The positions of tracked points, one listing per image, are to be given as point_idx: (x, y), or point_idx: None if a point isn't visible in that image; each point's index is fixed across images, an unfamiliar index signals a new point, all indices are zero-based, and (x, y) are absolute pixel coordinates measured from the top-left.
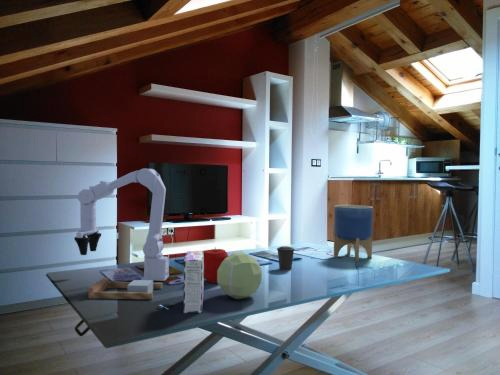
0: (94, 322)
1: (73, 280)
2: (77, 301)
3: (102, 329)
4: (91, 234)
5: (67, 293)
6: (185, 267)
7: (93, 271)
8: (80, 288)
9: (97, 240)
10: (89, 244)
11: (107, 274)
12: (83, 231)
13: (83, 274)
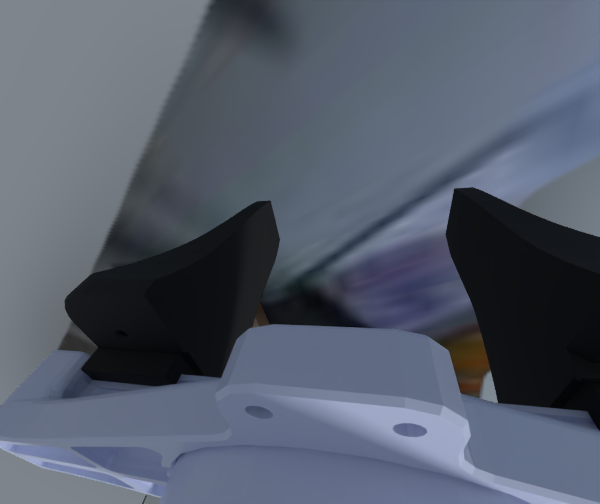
0: (72, 334)
1: (283, 90)
2: (108, 266)
3: (68, 349)
4: (559, 379)
5: (129, 201)
6: (146, 498)
7: (543, 65)
8: (195, 210)
9: (490, 342)
10: (488, 217)
11: (441, 203)
12: (146, 480)
13: (441, 47)
